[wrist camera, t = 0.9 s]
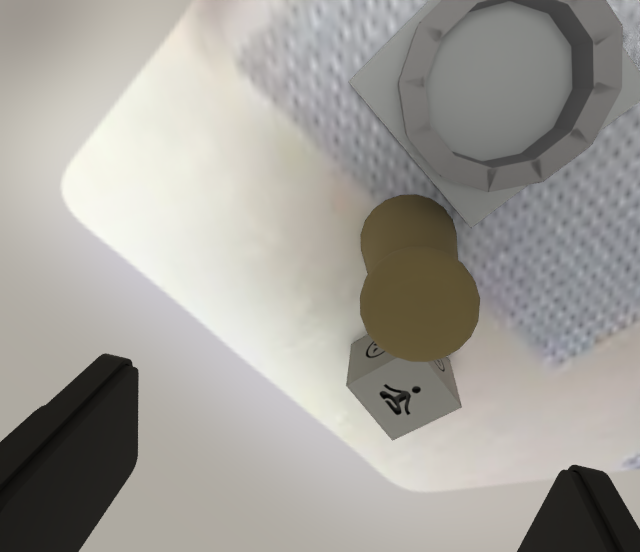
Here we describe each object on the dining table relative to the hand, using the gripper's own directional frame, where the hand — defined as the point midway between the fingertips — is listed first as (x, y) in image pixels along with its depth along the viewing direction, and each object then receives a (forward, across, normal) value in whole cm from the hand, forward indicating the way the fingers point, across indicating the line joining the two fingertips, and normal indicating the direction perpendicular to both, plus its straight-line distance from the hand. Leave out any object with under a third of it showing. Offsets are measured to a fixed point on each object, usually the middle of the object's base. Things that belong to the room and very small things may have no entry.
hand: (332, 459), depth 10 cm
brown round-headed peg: (+20, -3, +1) cm, 20 cm away
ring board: (+20, -5, -9) cm, 22 cm away
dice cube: (+20, -4, +9) cm, 23 cm away
